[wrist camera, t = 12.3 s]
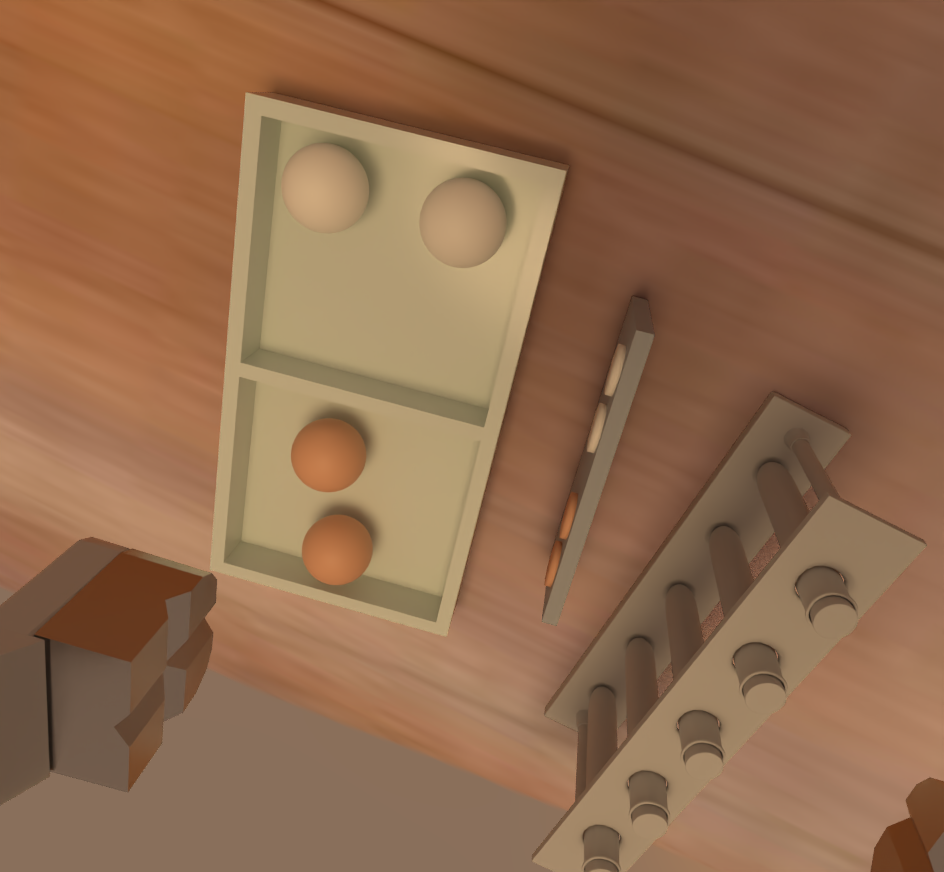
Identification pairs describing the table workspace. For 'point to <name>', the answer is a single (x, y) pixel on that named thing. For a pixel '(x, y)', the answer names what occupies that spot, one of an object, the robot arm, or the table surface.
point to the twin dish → (371, 358)
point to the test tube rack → (716, 635)
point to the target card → (598, 454)
